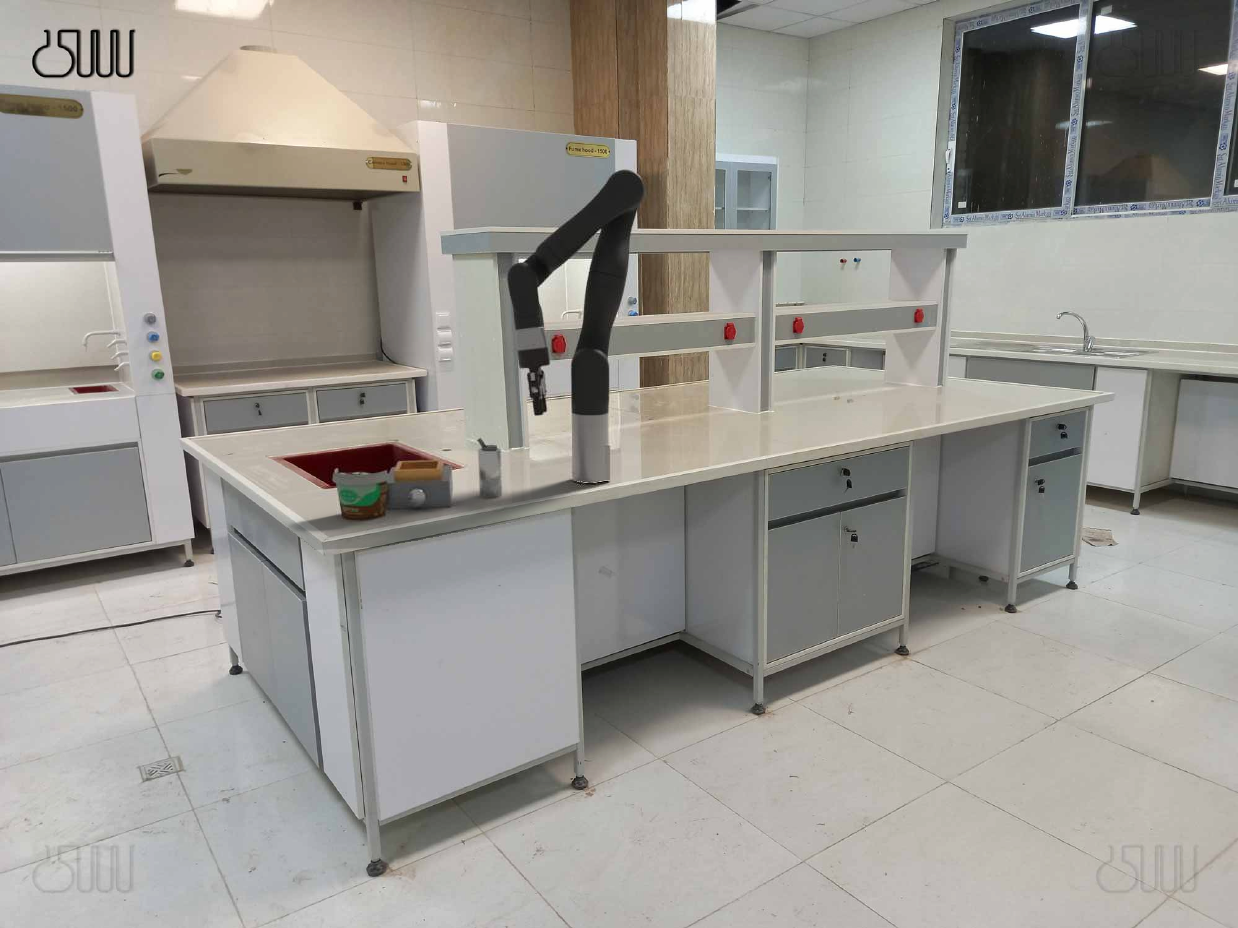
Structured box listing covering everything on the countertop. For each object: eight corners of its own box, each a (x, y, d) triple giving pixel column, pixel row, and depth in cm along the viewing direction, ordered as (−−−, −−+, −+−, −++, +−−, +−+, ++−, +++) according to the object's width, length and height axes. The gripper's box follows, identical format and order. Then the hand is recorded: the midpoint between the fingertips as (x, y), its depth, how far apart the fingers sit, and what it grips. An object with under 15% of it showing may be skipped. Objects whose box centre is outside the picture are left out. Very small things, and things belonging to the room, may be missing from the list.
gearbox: (452, 489, 206) (451, 457, 204) (449, 510, 188) (448, 475, 186) (393, 491, 204) (391, 459, 202) (384, 513, 186) (382, 477, 184)
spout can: (501, 492, 204) (500, 435, 201) (502, 498, 199) (500, 439, 196) (478, 493, 203) (477, 436, 200) (478, 498, 198) (476, 440, 195)
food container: (324, 520, 180) (320, 474, 178) (338, 512, 186) (335, 468, 184) (379, 523, 178) (376, 476, 176) (391, 515, 184) (389, 470, 182)
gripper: (544, 345, 200) (553, 414, 202) (550, 345, 214) (558, 409, 216) (512, 349, 200) (522, 418, 202) (520, 349, 214) (529, 413, 216)
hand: (541, 413), depth 209 cm, fingers open, 8 cm apart
